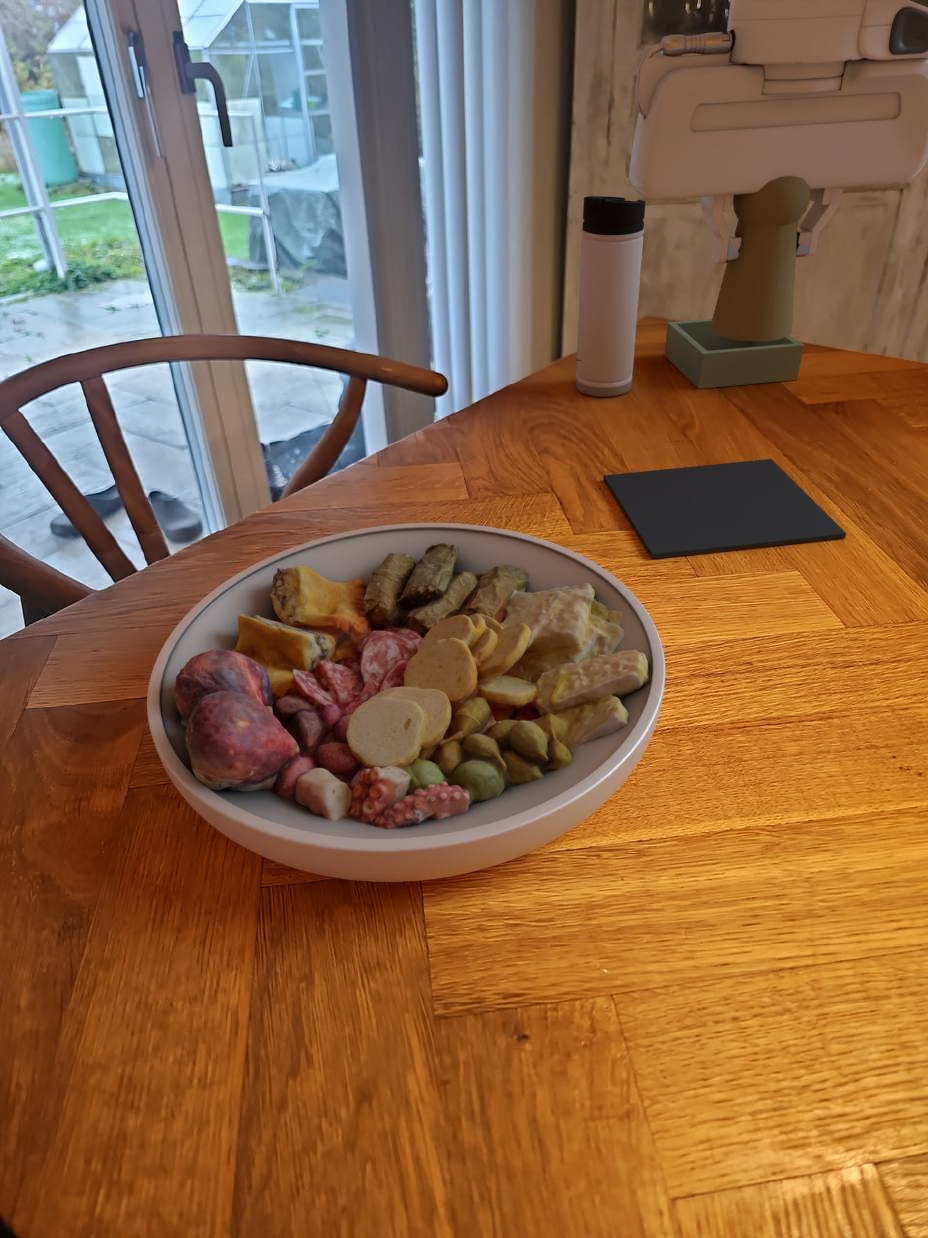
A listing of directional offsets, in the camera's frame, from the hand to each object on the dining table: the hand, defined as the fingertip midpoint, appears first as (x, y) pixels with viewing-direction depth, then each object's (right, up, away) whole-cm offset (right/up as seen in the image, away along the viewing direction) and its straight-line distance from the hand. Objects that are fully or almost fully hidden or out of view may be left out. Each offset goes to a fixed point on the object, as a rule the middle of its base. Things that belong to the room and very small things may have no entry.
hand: (762, 258), depth 62 cm
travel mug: (-6, 0, +34) cm, 35 cm away
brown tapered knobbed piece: (0, -4, +3) cm, 5 cm away
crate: (+9, +3, +38) cm, 39 cm away
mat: (0, -17, +11) cm, 20 cm away
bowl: (-25, -32, -9) cm, 42 cm away
